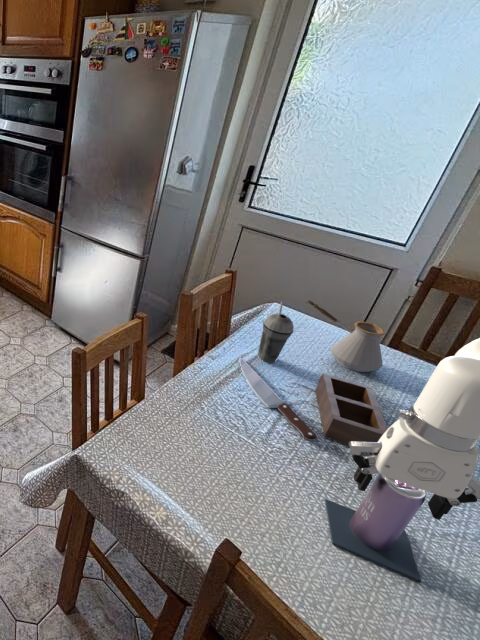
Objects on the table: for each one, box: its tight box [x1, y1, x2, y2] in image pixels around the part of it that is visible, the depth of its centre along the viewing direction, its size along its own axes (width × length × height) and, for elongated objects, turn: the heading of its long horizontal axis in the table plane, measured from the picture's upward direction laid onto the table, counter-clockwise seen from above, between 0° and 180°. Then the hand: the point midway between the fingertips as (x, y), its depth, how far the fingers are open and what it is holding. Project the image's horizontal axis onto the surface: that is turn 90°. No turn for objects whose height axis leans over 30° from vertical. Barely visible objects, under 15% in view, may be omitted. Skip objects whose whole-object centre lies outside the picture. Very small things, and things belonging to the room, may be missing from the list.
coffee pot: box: [303, 300, 386, 373], centre depth 123 cm, size 21×12×15 cm, turn 38°
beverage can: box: [350, 473, 427, 551], centre depth 74 cm, size 6×6×15 cm
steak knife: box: [238, 356, 317, 442], centre depth 111 cm, size 5×31×2 cm, turn 179°
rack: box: [314, 372, 388, 446], centre depth 102 cm, size 18×10×6 cm, turn 148°
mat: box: [324, 498, 422, 583], centre depth 78 cm, size 12×10×1 cm
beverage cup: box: [257, 301, 295, 364], centre depth 121 cm, size 7×7×20 cm
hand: (395, 497), depth 73 cm, fingers open, 9 cm apart
